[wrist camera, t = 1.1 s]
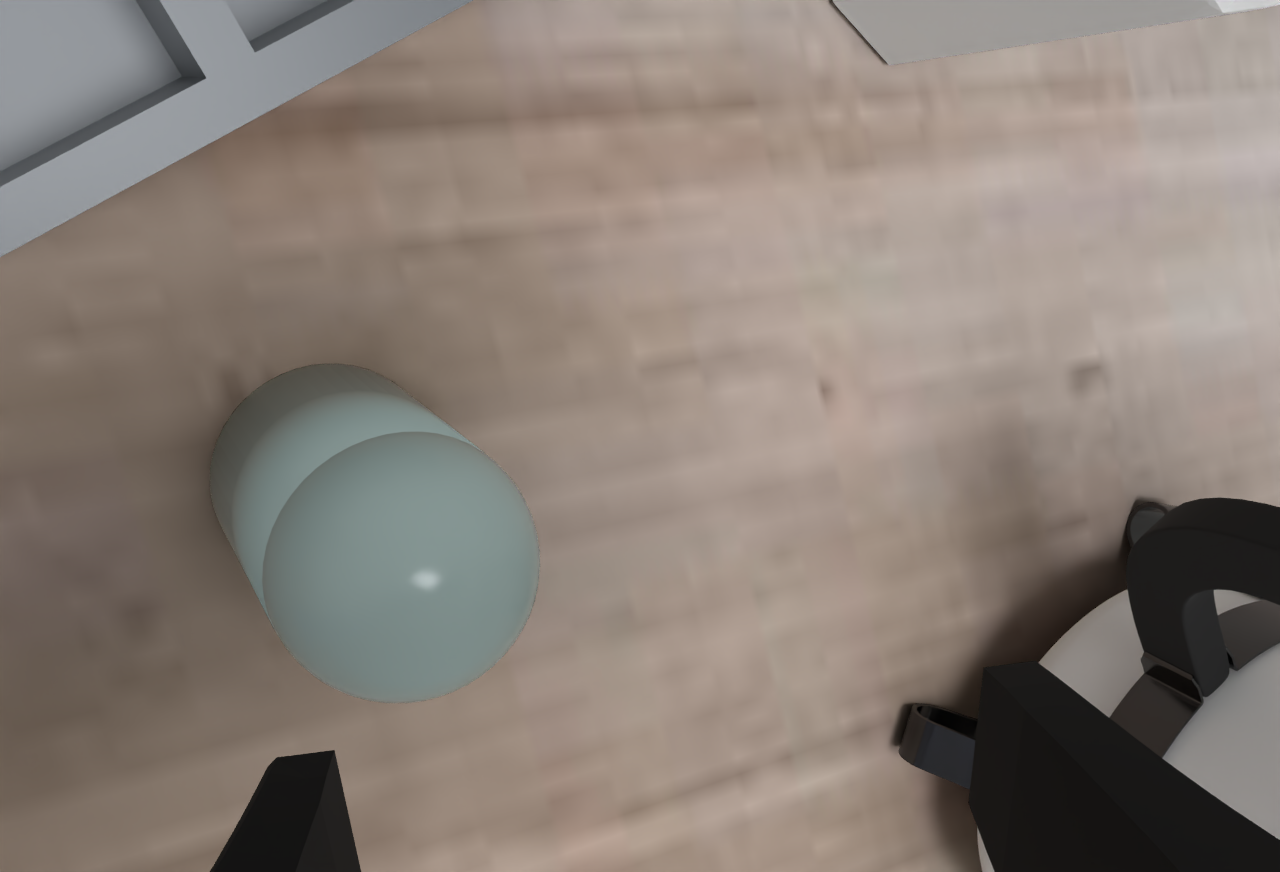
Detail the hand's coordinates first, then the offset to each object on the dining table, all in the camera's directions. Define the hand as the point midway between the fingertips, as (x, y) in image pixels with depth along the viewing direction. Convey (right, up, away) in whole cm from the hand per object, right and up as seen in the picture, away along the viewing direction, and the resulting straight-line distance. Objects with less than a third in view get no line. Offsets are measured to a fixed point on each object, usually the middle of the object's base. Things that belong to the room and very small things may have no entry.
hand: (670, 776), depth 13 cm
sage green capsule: (-6, +3, +10) cm, 13 cm away
